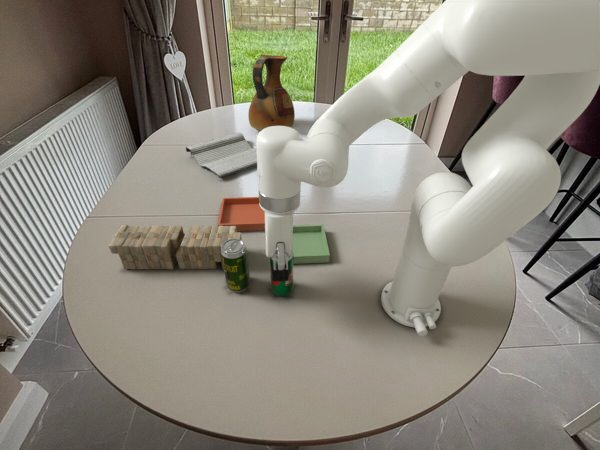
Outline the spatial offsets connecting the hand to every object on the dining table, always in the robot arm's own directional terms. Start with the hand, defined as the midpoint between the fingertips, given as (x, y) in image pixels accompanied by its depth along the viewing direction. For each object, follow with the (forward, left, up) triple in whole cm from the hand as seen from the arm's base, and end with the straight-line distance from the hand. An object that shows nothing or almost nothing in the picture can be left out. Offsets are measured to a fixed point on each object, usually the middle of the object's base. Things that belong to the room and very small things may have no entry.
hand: (279, 263), depth 71 cm
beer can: (+2, +10, -9) cm, 13 cm away
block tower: (+11, +24, -9) cm, 28 cm away
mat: (+64, +17, -9) cm, 67 cm away
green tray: (+14, -6, -8) cm, 17 cm away
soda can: (0, 0, -9) cm, 9 cm away
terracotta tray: (+28, +10, -8) cm, 31 cm away
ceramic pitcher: (+92, +1, -9) cm, 92 cm away
